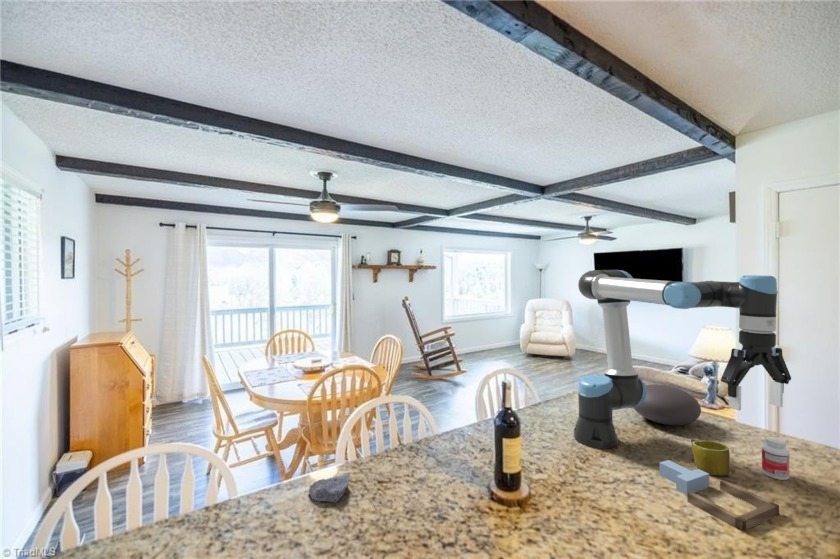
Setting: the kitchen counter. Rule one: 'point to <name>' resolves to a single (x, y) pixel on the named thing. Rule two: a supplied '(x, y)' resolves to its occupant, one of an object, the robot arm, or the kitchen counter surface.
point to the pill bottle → (775, 458)
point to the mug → (711, 457)
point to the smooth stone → (669, 405)
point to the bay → (741, 522)
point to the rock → (329, 488)
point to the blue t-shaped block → (684, 477)
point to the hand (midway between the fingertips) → (755, 407)
